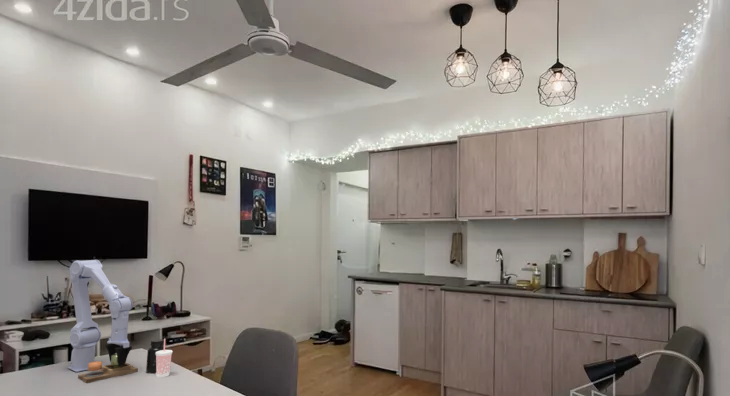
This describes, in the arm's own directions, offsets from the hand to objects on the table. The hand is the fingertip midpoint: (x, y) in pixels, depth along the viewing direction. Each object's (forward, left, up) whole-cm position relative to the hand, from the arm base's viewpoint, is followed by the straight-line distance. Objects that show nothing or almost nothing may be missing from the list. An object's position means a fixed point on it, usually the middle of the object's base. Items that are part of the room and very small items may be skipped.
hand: (117, 363), depth 168 cm
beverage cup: (+17, +10, -4) cm, 20 cm away
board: (0, -3, -4) cm, 5 cm away
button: (0, -8, 0) cm, 8 cm away
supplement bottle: (+9, +11, -4) cm, 15 cm away
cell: (0, 0, -2) cm, 2 cm away
